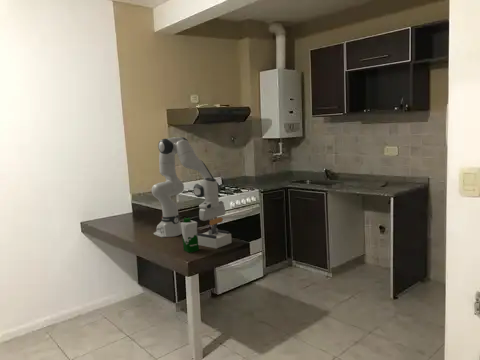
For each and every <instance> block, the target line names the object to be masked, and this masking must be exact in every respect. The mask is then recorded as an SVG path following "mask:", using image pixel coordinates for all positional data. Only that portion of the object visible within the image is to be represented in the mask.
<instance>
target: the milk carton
mask: <svg viewBox="0 0 480 360" xmlns="http://www.w3.org/2000/svg"><path fill="white" fill-rule="evenodd" d="M180 223H181V228H182V234H181V235H182V245H183V251H184V252H186V253H189V254H191V253H195V252H197V251H200V245H198V235H197V233H198V222H197V221H195V220H191V218H190V217H184V218H183V221H182V222H181V221H180Z"/></svg>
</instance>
